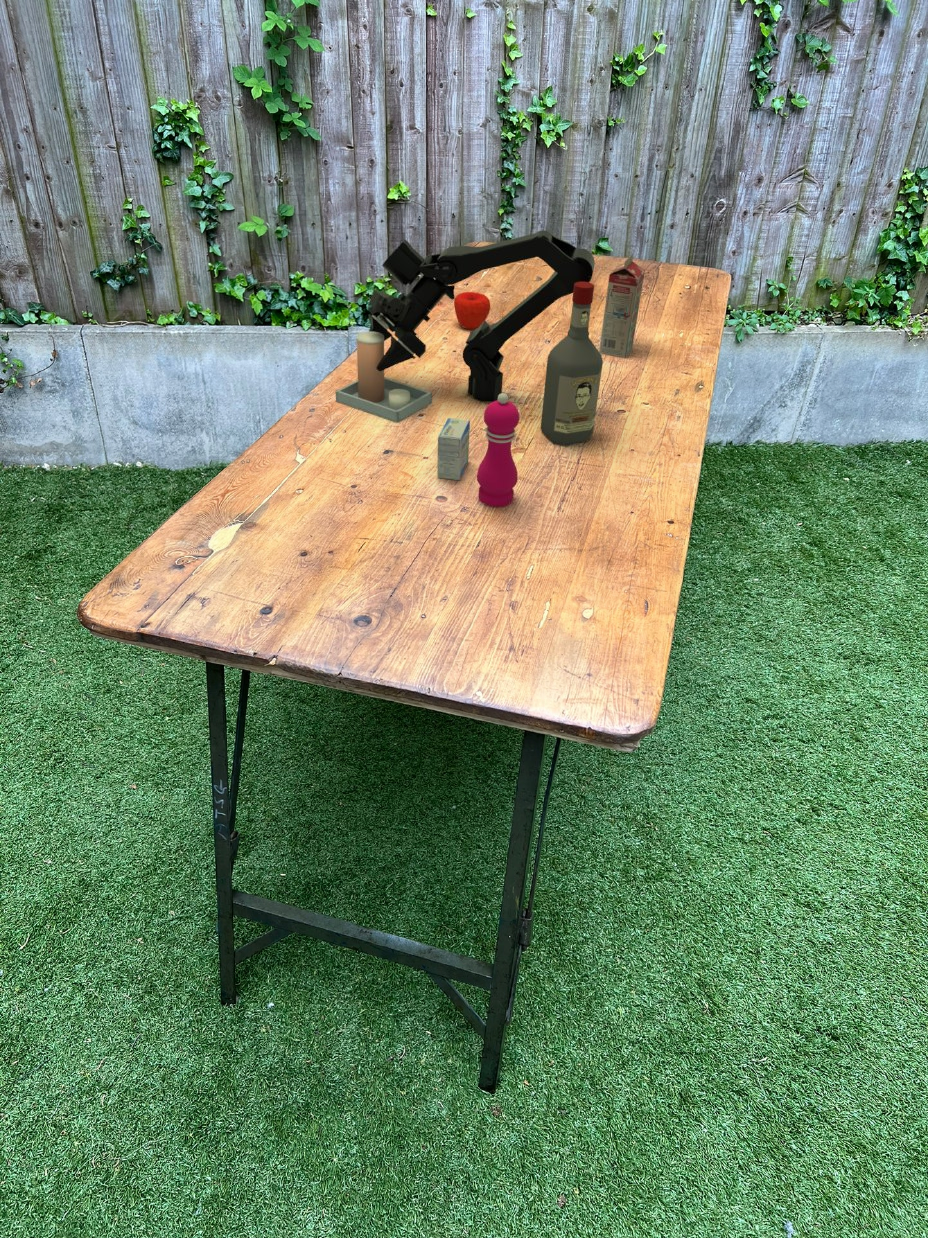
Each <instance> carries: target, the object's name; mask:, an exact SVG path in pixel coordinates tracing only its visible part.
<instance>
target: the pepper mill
mask: <svg viewBox="0 0 928 1238" xmlns="http://www.w3.org/2000/svg"><path fill="white" fill-rule="evenodd" d="M483 421H484V423H485V426H486V428H485V431H486V432H485V437H486V439H487V449H486V453H485V455H484V456H483V458H482V460H481V462H480V464H479V466H478V469H477V472H476V473H477V474H476V481H477V483H478V484H479V487H478V494H477V495H478V498H477V499H478V500H479V502H481V503H482V504H483V505H486V506H487V507H491V508H492V507H494V508H502V507H506V506H507V507H508V506H509V505H510V504H512V503H513V501H514V495H515V492H514V491H515V490H514V487H515V486H516V485H517V483H518V477H519V476H518V474H519V473H518V470H517V465H516V464H515V461H514V459H513V455H512V450H511V449H512V443H513V441H514V439H516V427H517V426H518V424H519V423H520V412H519V409H518V408H517V406H516V405H515V404H514V403H513V402H511V401H509V396H508V395H507V393H505V392H502V393H501V394H499V396H498V400H497V401H494V402H490V403H489V404H488V405H487V406H486V407H485V410H484V413H483Z"/></svg>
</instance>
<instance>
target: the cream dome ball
mask: <svg viewBox="0 0 928 1238" xmlns="http://www.w3.org/2000/svg"><path fill="white" fill-rule="evenodd" d="M409 403H410V392H409V391H407V390H404V389H394V390H391V391H390V392H389V408H391V409H394V410H399V409H400V408H402V407H404V406H406V405H407V404H409Z"/></svg>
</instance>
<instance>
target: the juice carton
mask: <svg viewBox="0 0 928 1238" xmlns="http://www.w3.org/2000/svg"><path fill="white" fill-rule="evenodd" d="M633 259H634V253H631V254H630V255H629V257H627V259H626V260H625V261H624V263H621V264H619V265H617V266H615V268H614V269H613V270H612V271H611V272H610V273H609V277H608V283H607V284H608V285H607V290H606V298H605V306H604V312H603V313H604V314H603V319H602V326H601V333H600V341H599V349H598V351H599V353H600V354H601V355H605V356H610V357H611V356H612V357H615V358H622V359H627V357H628V356H629V354H630V353H631V352H632V350H633V347H634V341H635V336H636V335H635V334H636V329H637V323H638V315H639V310H640V303H641V298H642V297H641V296H642V290H643V285H644V278H645V270H644V268H642V267H641V266H639V265H638V264H637V263H635V262H634V261H633Z"/></svg>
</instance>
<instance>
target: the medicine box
mask: <svg viewBox="0 0 928 1238" xmlns="http://www.w3.org/2000/svg"><path fill="white" fill-rule="evenodd" d="M470 427H471V421H470V420H467V419H459V418H449V417H448V418H447V419H446V422H445V424H444V425H443V427H442V429H441V431H440V433H439V434H438V436H437V467H436V469H437V472H436V473H437V476H436V477H437V478H438V479H445V480H451V481H452V480H454V481H460V480H461V479H462V477H463V475H464V473H465V470H466V468H467V465H468V463H469V458H470V457H469V453H470V451H469V450H470V434H471V433H470V432H471V431H470V429H471V428H470Z"/></svg>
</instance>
